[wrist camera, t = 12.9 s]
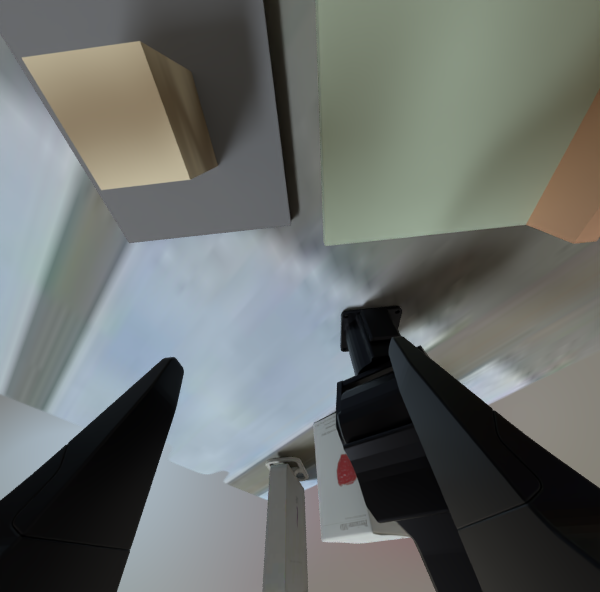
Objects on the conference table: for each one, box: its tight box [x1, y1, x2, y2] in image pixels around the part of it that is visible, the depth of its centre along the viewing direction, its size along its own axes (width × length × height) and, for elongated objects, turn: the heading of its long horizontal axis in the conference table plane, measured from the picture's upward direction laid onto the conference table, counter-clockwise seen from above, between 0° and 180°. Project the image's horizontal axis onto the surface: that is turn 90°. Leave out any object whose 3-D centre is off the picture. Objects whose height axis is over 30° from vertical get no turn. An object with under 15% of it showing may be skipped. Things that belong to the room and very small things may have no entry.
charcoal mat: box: [0, 0, 291, 243], centre depth 14 cm, size 13×13×1 cm
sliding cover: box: [315, 0, 600, 246], centre depth 7 cm, size 14×12×3 cm
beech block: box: [22, 41, 218, 190], centre depth 11 cm, size 4×4×5 cm
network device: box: [263, 457, 309, 592], centre depth 50 cm, size 26×9×20 cm, turn 10°
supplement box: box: [313, 413, 410, 543], centre depth 35 cm, size 9×9×15 cm
